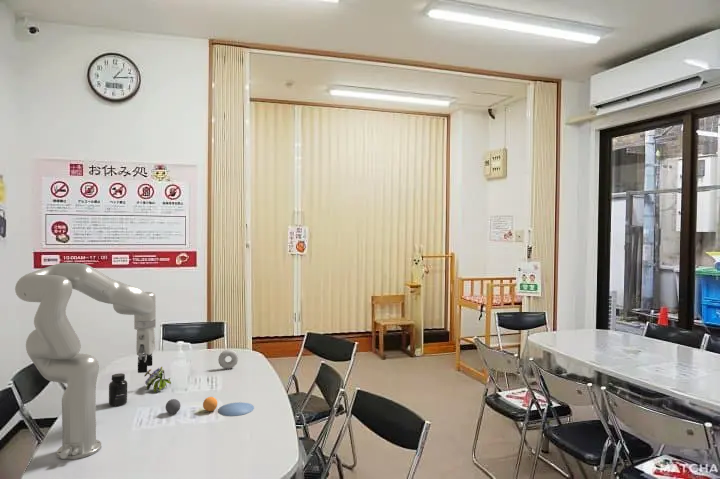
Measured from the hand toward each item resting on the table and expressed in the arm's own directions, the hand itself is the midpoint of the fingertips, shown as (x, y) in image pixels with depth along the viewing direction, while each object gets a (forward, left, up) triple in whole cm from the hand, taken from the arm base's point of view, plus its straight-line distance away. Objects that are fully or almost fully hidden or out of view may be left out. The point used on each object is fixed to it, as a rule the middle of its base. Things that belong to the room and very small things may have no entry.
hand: (145, 368), depth 188 cm
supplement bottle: (+15, +14, -18) cm, 27 cm away
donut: (+58, -27, -18) cm, 66 cm away
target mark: (0, -34, -18) cm, 39 cm away
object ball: (0, -24, -15) cm, 29 cm away
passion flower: (+32, +2, -18) cm, 37 cm away
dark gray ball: (0, -10, -15) cm, 18 cm away
